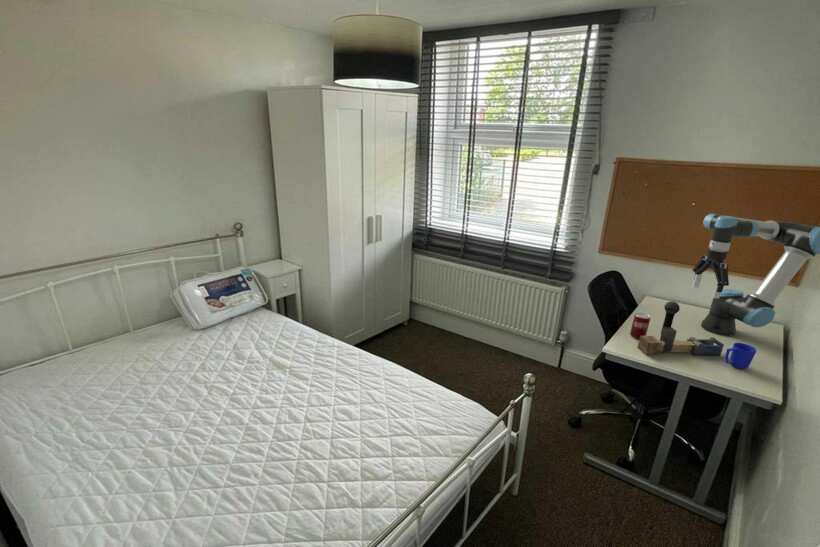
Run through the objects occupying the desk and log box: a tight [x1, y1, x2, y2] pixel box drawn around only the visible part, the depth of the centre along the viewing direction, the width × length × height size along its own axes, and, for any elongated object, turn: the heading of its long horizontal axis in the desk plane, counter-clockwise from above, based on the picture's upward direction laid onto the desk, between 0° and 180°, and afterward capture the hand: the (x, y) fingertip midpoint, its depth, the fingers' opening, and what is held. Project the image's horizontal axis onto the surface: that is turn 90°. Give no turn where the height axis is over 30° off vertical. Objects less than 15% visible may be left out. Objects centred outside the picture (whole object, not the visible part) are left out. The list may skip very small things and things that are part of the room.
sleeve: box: [686, 336, 725, 357], centre depth 193 cm, size 13×7×6 cm, turn 91°
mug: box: [724, 342, 757, 370], centre depth 181 cm, size 8×12×10 cm
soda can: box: [629, 312, 651, 340], centre depth 205 cm, size 7×7×12 cm
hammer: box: [659, 326, 697, 353], centre depth 191 cm, size 24×4×11 cm, turn 91°
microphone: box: [660, 301, 681, 335], centre depth 204 cm, size 7×7×20 cm
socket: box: [637, 335, 662, 356], centre depth 192 cm, size 6×7×7 cm
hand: (705, 292), depth 191 cm, fingers open, 13 cm apart
